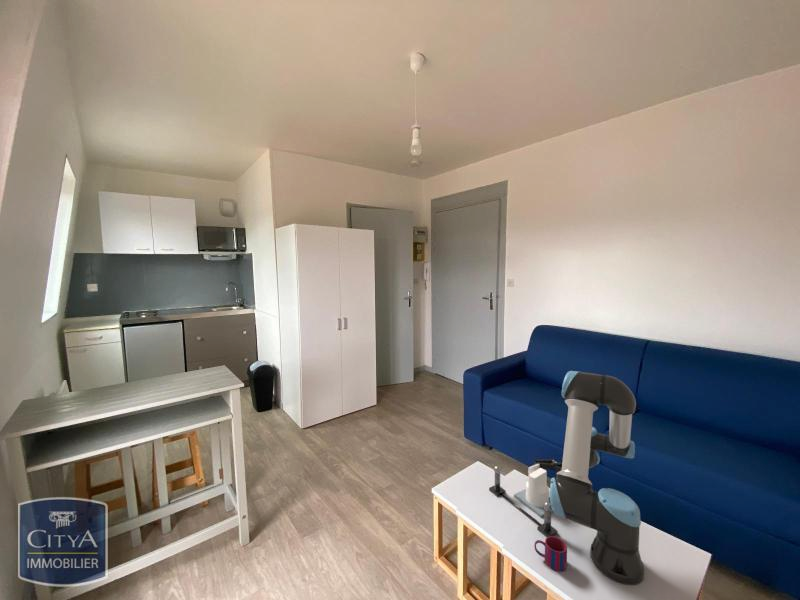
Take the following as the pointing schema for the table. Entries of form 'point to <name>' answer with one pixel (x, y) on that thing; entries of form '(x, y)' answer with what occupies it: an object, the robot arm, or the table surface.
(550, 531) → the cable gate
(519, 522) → the table surface
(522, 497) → the slate mat
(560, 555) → the mug
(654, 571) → the table surface
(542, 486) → the base with upright slab
